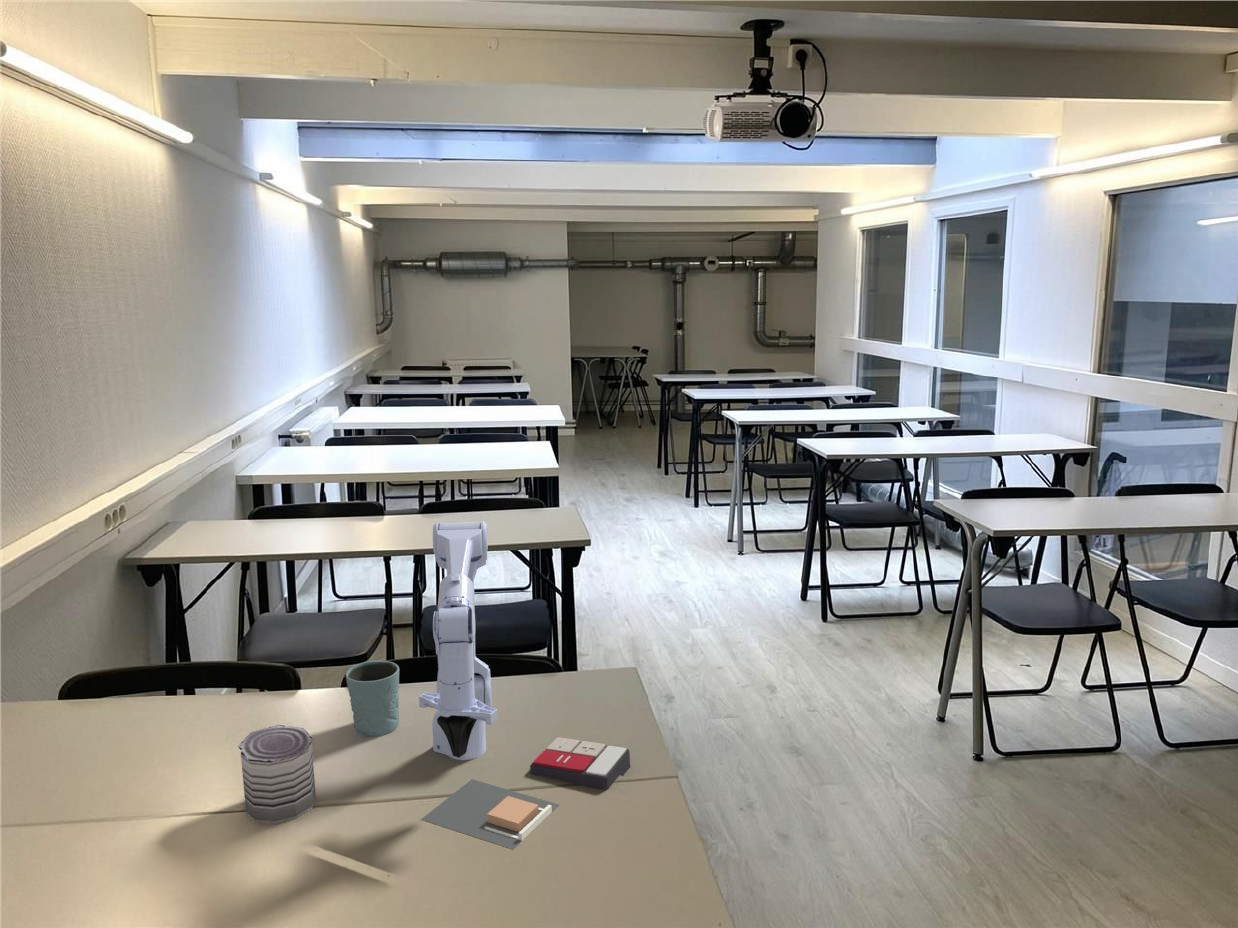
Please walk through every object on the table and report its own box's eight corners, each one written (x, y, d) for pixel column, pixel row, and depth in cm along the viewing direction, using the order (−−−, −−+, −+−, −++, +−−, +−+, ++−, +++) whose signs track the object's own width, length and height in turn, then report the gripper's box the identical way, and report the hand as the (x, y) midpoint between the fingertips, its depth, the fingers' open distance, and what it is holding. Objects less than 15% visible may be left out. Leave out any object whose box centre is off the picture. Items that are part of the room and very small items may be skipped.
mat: (420, 824, 152) (420, 812, 152) (472, 784, 164) (471, 772, 164) (513, 855, 144) (512, 842, 144) (559, 809, 156) (559, 797, 156)
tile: (487, 813, 150) (518, 823, 148) (507, 795, 156) (538, 804, 153) (487, 823, 151) (518, 832, 148) (508, 804, 156) (538, 813, 153)
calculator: (556, 734, 176) (630, 744, 170) (557, 755, 176) (631, 766, 170) (528, 761, 166) (606, 774, 160) (530, 783, 166) (607, 797, 160)
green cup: (412, 723, 187) (409, 667, 185) (374, 743, 179) (371, 685, 176) (377, 710, 193) (373, 656, 190) (338, 730, 184) (334, 673, 182)
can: (298, 779, 166) (293, 717, 164) (328, 804, 158) (324, 739, 156) (234, 805, 158) (228, 739, 156) (263, 832, 150) (257, 764, 148)
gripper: (405, 678, 152) (409, 754, 155) (478, 695, 146) (481, 775, 148) (432, 662, 158) (436, 736, 161) (504, 678, 152) (506, 755, 154)
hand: (459, 754), depth 155 cm, fingers closed
